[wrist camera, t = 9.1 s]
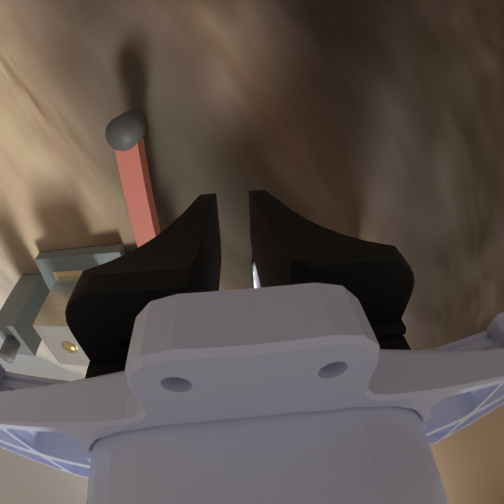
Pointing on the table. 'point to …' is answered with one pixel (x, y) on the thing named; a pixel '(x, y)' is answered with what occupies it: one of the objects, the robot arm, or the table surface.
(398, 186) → the table surface
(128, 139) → the lever
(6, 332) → the press
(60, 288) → the block
